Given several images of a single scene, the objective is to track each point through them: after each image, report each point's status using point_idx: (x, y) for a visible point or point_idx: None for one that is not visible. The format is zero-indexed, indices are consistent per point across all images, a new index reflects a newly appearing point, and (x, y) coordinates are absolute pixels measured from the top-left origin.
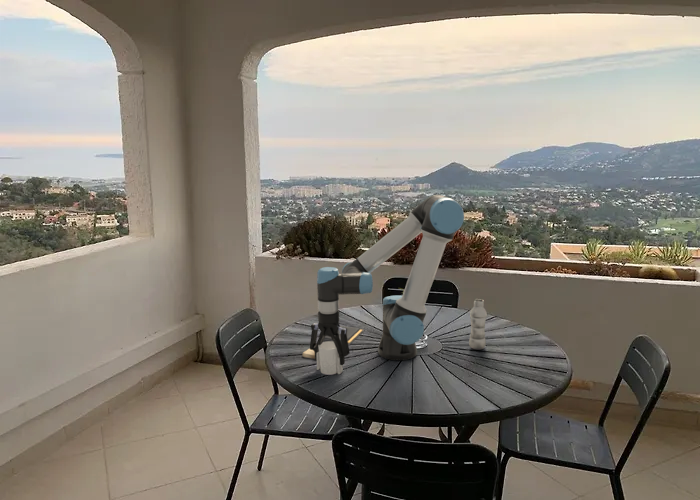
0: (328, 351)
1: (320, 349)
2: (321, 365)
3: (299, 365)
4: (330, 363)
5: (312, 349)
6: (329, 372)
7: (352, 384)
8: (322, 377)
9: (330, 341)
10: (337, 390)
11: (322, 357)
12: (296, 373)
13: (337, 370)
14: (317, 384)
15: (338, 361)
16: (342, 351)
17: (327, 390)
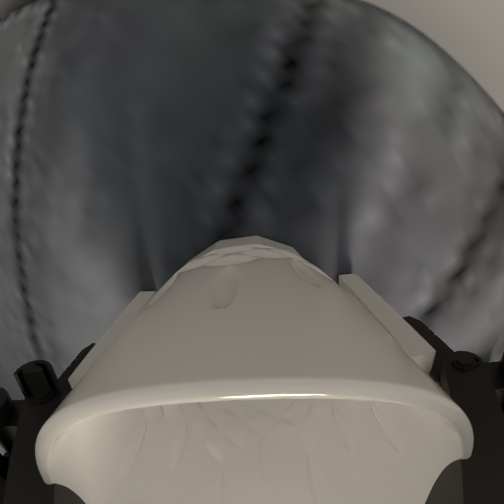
0: (105, 372)
1: (375, 358)
2: (294, 256)
3: (479, 268)
4: (165, 286)
5: (497, 364)
6: (202, 254)
7: (5, 209)
8: (230, 176)
9: None
10: (34, 83)
11: (276, 275)
12: (445, 145)
13: (145, 302)
14: (191, 53)
15: (99, 349)
16: None
17: (83, 39)
